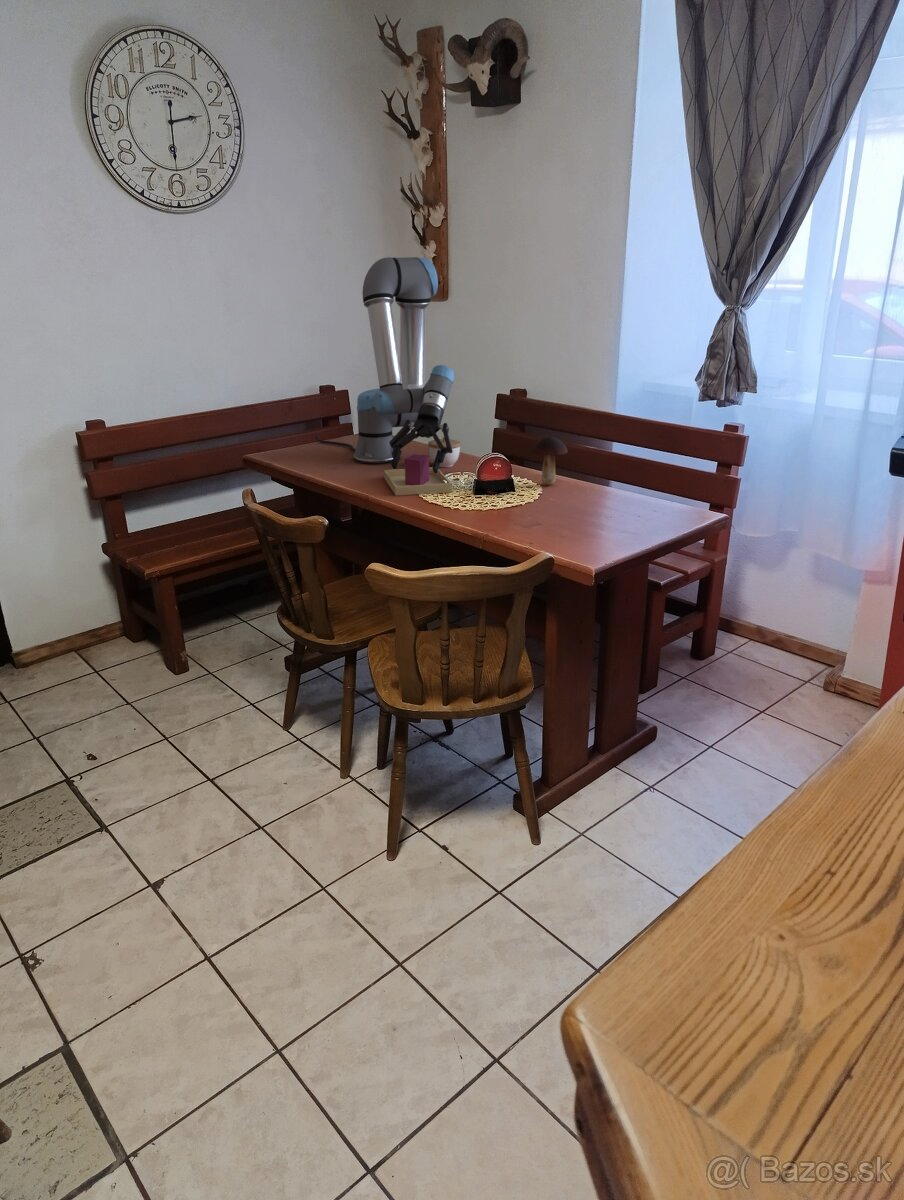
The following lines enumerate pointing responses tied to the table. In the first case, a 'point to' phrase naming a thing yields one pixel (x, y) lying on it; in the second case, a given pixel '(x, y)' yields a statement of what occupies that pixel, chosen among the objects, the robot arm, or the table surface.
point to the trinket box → (449, 457)
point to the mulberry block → (416, 470)
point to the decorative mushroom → (549, 457)
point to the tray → (432, 486)
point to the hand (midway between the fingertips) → (413, 469)
